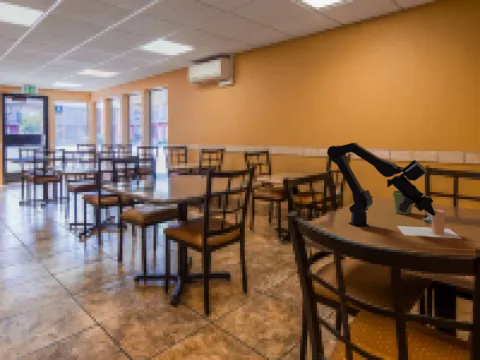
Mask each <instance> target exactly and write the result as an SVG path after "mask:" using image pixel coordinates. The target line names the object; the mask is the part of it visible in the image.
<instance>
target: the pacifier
mask: <svg viewBox="0 0 480 360" xmlns="http://www.w3.org/2000/svg"><path fill="white" fill-rule="evenodd" d="M426 215H427V217H426V218H425V217H424V218H422V220H423V221H426V222H427V223H429V224H432V215H431V214H429V213H428V212H426Z"/></svg>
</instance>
